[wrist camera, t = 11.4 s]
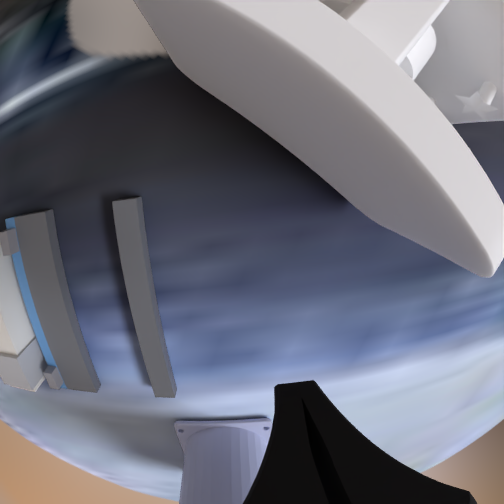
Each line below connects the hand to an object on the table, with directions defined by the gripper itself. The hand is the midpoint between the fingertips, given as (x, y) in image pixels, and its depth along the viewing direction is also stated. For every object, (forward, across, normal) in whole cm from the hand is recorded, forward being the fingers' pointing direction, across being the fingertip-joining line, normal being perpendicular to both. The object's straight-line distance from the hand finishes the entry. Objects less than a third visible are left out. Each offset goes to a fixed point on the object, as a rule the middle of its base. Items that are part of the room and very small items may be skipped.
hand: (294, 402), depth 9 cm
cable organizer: (+10, -4, -13) cm, 17 cm away
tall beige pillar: (+10, +20, 0) cm, 22 cm away
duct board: (+9, +16, 0) cm, 19 cm away
